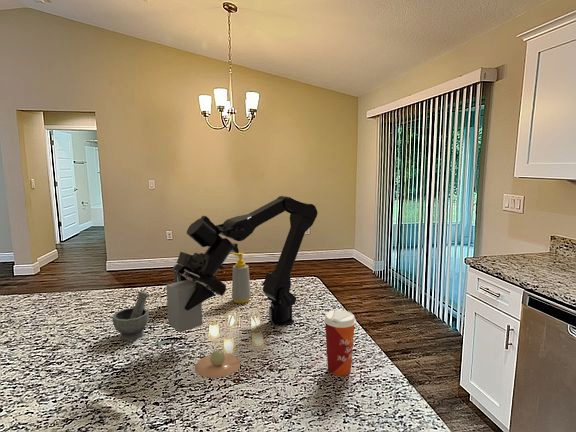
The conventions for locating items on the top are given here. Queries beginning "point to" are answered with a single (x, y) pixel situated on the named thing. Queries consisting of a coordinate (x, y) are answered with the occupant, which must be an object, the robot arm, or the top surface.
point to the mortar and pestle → (132, 319)
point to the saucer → (219, 370)
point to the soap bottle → (240, 281)
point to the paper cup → (339, 341)
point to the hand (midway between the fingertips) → (179, 306)
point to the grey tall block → (182, 306)
